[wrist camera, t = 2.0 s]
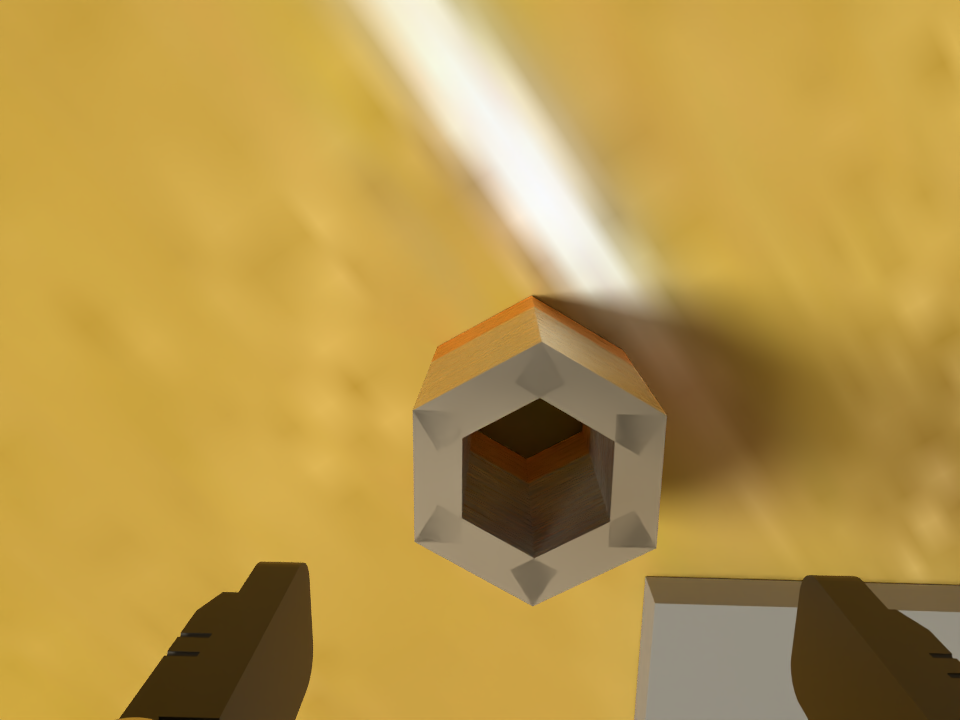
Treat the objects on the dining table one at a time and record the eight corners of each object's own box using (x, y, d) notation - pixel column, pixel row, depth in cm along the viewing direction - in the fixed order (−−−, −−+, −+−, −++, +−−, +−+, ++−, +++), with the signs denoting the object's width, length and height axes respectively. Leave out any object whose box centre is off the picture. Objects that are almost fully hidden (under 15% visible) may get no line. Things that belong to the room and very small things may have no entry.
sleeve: (437, 494, 23) (415, 602, 17) (437, 293, 21) (411, 339, 15) (613, 498, 23) (651, 609, 17) (626, 297, 21) (673, 344, 15)
